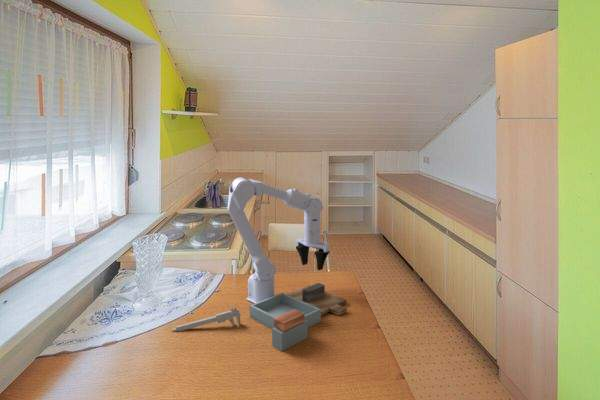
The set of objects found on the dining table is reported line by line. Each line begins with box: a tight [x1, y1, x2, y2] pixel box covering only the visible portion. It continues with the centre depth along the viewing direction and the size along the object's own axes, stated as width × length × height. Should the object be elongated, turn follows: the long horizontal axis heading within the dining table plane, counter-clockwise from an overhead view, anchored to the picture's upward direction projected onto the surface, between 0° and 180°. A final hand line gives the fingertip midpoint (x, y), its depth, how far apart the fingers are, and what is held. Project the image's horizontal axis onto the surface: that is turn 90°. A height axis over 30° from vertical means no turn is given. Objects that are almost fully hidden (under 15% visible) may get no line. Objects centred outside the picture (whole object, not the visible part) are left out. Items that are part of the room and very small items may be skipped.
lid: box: [285, 282, 348, 316], centre depth 136 cm, size 22×14×6 cm, turn 45°
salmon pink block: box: [274, 309, 305, 331], centre depth 112 cm, size 4×8×2 cm, turn 135°
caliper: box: [171, 306, 241, 332], centre depth 121 cm, size 20×1×6 cm, turn 100°
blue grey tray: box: [249, 292, 322, 352], centre depth 122 cm, size 22×20×5 cm
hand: (312, 266), depth 143 cm, fingers open, 7 cm apart
